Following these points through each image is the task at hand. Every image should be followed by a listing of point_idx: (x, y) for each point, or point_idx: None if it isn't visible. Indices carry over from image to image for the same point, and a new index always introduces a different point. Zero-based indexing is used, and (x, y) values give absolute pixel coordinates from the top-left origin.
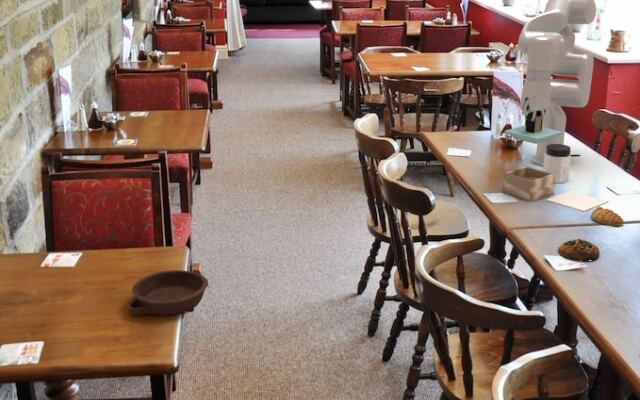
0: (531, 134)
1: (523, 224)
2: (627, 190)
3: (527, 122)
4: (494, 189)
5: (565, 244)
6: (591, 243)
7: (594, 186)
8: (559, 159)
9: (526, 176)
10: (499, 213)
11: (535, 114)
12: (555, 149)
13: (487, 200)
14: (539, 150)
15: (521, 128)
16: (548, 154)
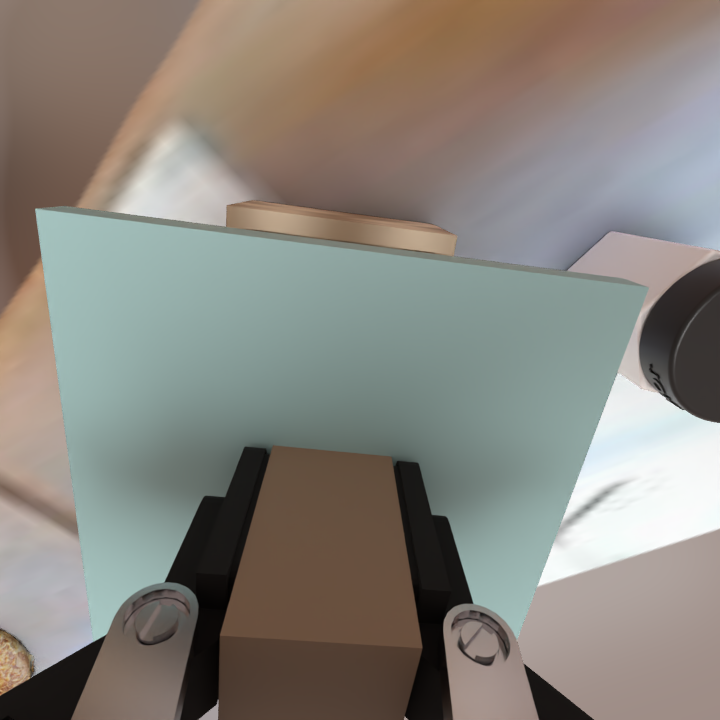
0: (180, 546)
1: (9, 463)
2: (619, 542)
3: (172, 576)
4: (271, 135)
5: None
6: (2, 691)
7: (605, 450)
8: (633, 370)
9: (424, 252)
10: (16, 343)
11: (441, 674)
12: (674, 366)
13: (101, 207)
14: None
15: (348, 328)
16: (657, 304)
